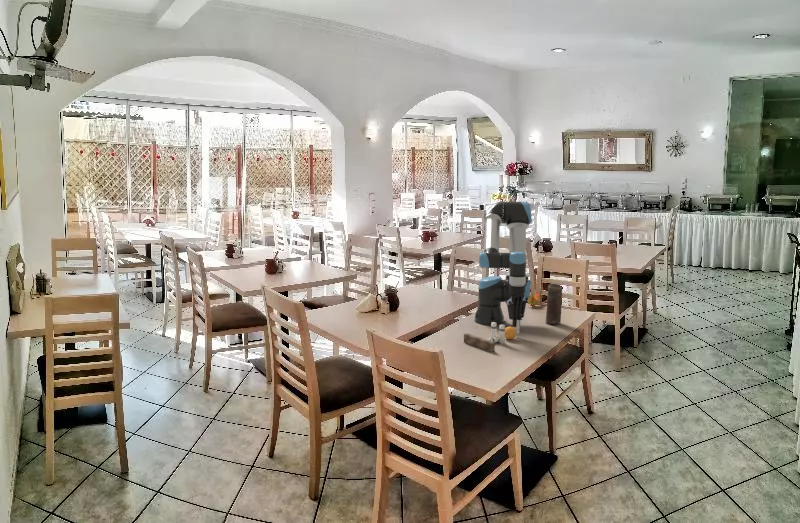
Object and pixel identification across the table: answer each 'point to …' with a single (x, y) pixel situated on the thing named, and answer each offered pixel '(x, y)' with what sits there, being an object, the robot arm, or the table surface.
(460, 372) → the table surface
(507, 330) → the ball
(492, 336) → the pin
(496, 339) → the front pin
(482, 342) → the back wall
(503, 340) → the pin
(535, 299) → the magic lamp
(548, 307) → the rusty brown cylinder
